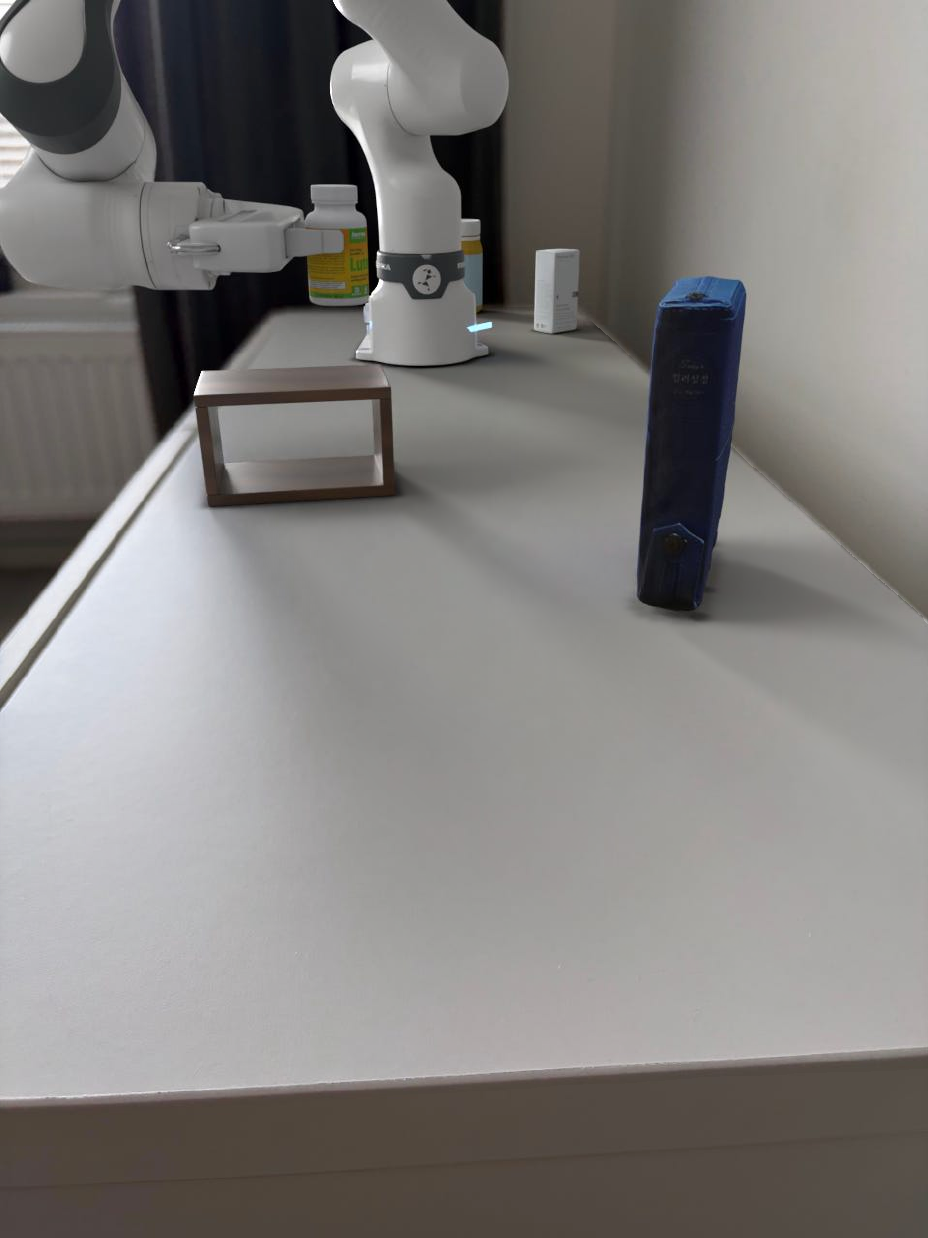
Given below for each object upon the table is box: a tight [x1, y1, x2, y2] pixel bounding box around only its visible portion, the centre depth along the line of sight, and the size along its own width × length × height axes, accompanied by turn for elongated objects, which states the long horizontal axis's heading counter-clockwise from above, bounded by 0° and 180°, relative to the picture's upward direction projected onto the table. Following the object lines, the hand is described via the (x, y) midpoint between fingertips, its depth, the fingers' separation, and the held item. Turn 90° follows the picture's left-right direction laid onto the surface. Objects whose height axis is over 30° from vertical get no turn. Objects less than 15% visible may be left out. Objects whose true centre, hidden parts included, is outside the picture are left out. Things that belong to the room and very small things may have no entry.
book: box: [636, 275, 747, 613], centre depth 64 cm, size 14×5×20 cm, turn 163°
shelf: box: [193, 363, 396, 507], centre depth 85 cm, size 9×16×10 cm, turn 100°
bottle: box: [461, 218, 484, 314], centre depth 168 cm, size 7×7×15 cm
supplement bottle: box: [304, 184, 370, 307], centre depth 85 cm, size 5×5×10 cm
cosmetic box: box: [533, 248, 581, 334], centre depth 152 cm, size 6×4×12 cm
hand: (346, 237), depth 85 cm, fingers closed on supplement bottle, 5 cm apart
